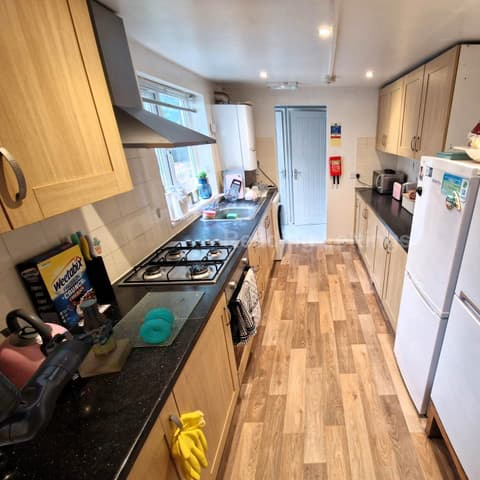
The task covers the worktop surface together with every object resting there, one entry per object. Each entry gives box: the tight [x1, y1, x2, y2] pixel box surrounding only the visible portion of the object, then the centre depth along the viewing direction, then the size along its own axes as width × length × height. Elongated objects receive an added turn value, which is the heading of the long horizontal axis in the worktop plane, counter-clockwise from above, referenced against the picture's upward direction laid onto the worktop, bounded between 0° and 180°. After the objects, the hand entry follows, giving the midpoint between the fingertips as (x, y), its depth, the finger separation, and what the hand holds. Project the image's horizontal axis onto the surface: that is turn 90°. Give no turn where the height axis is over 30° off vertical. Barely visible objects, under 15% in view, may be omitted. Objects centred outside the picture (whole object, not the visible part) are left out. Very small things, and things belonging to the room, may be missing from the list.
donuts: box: [139, 307, 175, 344], centre depth 100 cm, size 10×10×10 cm
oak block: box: [77, 337, 134, 379], centre depth 90 cm, size 11×11×4 cm
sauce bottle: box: [78, 298, 117, 357], centre depth 86 cm, size 7×6×20 cm
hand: (93, 323), depth 84 cm, fingers open, 8 cm apart
